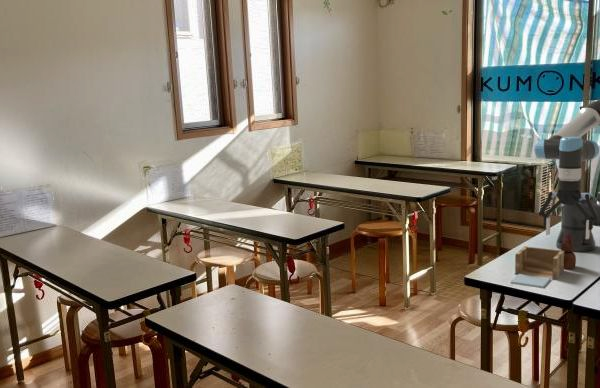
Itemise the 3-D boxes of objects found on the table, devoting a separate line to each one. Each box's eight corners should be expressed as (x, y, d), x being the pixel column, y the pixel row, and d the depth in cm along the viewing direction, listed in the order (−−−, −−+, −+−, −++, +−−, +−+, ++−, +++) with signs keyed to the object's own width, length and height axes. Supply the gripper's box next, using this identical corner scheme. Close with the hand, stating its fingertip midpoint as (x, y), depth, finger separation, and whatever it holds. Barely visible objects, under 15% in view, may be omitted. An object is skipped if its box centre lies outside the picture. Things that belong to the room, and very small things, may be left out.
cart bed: (524, 269, 225) (524, 246, 223) (563, 274, 217) (564, 250, 215) (514, 278, 215) (514, 254, 213) (555, 284, 207) (556, 259, 205)
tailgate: (518, 273, 213) (510, 281, 205) (550, 278, 207) (543, 286, 199) (518, 276, 213) (510, 284, 205) (550, 281, 207) (543, 289, 199)
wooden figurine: (577, 273, 217) (578, 234, 214) (560, 273, 218) (561, 234, 215) (572, 268, 223) (574, 229, 221) (556, 268, 224) (557, 229, 222)
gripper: (531, 179, 219) (529, 234, 222) (605, 182, 205) (602, 242, 208) (536, 176, 225) (534, 230, 228) (609, 179, 211) (606, 237, 214)
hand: (567, 236), depth 218 cm, fingers open, 13 cm apart
